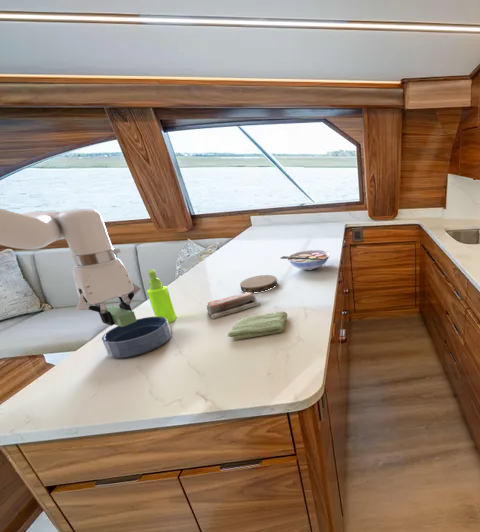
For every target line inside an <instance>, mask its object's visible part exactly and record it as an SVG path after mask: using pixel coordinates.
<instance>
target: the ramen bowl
mask: <svg viewBox="0 0 480 532" xmlns="http://www.w3.org/2000/svg"><path fill="white" fill-rule="evenodd" d="M330 255H331V254H330V251H327V250H321V249H315V250H313V249H312V250H310V249H309V250H302V251H298V252H295V253H292V254H290V255H288V256H284V255H282V257H280V259H281V260H287V261H288V262H289V263H290V264H291V265H292V266H293V267H295V268H297V269H300V270H304V269H306V270H305V271H310V270H309V269H314V270H316V269H318V268H320V267H322V266H324V265H325V264H326V262H327V261H328V260H329V258H330ZM315 268H316V269H315Z"/></svg>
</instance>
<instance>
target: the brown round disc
mask: <svg viewBox="0 0 480 532" xmlns="http://www.w3.org/2000/svg"><path fill="white" fill-rule="evenodd" d="M276 284H277V285H278V280H277V276H275V275H271V274H263V275H261V274H260V275H256V276H251V277H248V278H246V279H244V280H241V282H240V283H239V286H240V290H242V291H243V292H242V291H241V292H242V293H244V292H250V293H253V294H255V293H254V292H261V291H265V290H268V289H270V288H273V287H274V286H276ZM276 287H277V286H276ZM273 289H274V288H273ZM268 291H269V290H268ZM265 292H266V291H265ZM261 293H262V292H261Z"/></svg>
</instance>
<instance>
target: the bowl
mask: <svg viewBox="0 0 480 532" xmlns="http://www.w3.org/2000/svg"><path fill="white" fill-rule="evenodd" d="M136 320H137V321H136V322H134V323H131V324H129V325H126V326H124V327H121V326H118V325H116V326H114V327H113V328H111V329H110V330H108V331H106V332H105V333H103V336H102V337H101V341H102V343H103V346H104V348H105V351H106V353H107V355H108V356H109V357H112V358H131V357H137V356H139V355H143V354H147V353H149V352H151V351H153V350H155V349H157V348H159V347H161V346H162V345H164V344H165V343H166V342H168V341H169V340H170V338H171V337H172V333H173V332H172V330H171V327H170V324H169V323H170V322H169V323H168V320H167V319H166V318H164V317H155V316H147V317H142V318H136Z"/></svg>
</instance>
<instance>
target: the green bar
mask: <svg viewBox="0 0 480 532" xmlns="http://www.w3.org/2000/svg"><path fill="white" fill-rule="evenodd" d="M106 309H107V311H109V312H110V313H111V316H112V319H113V321H114V325H115V326H121V327H124V326H126V325H129V324H131V323H134V322H136V321H137V317H136V315H135V312H134V311H133V310H132V311H130V310H126V309H122V308H120V307H119V306H118V307H117V306H114V305H112V306H109V307H106ZM100 319H101V318H100ZM101 321H102V319H101ZM114 325H113V326H114Z"/></svg>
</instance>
